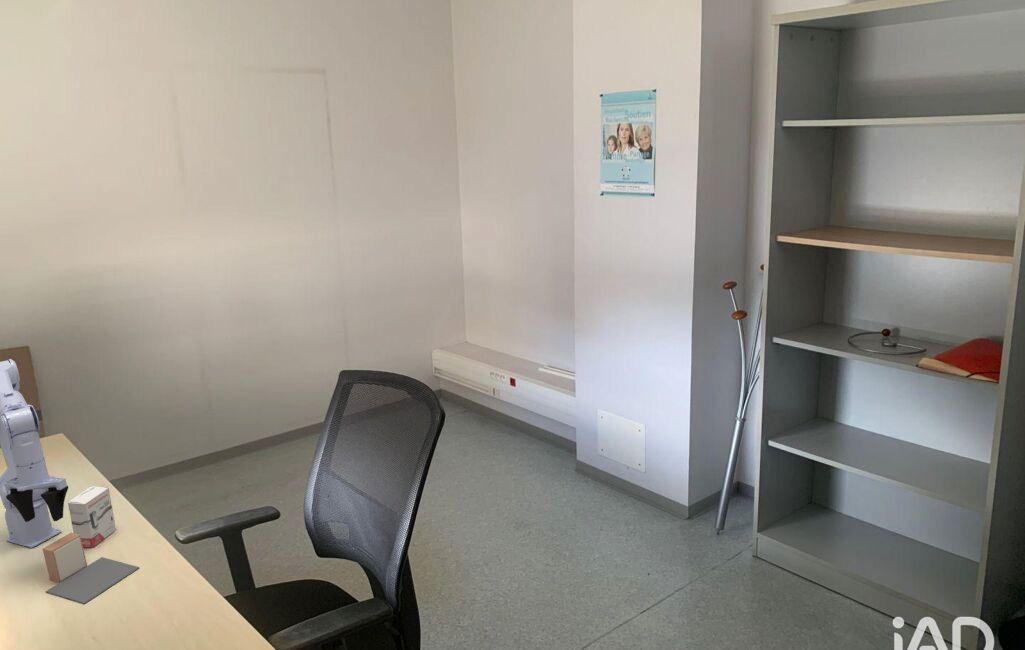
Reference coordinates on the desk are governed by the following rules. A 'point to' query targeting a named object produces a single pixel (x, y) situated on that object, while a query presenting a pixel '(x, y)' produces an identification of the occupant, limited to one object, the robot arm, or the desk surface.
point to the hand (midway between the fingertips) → (44, 519)
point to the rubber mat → (92, 580)
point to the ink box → (92, 515)
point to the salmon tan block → (64, 557)
